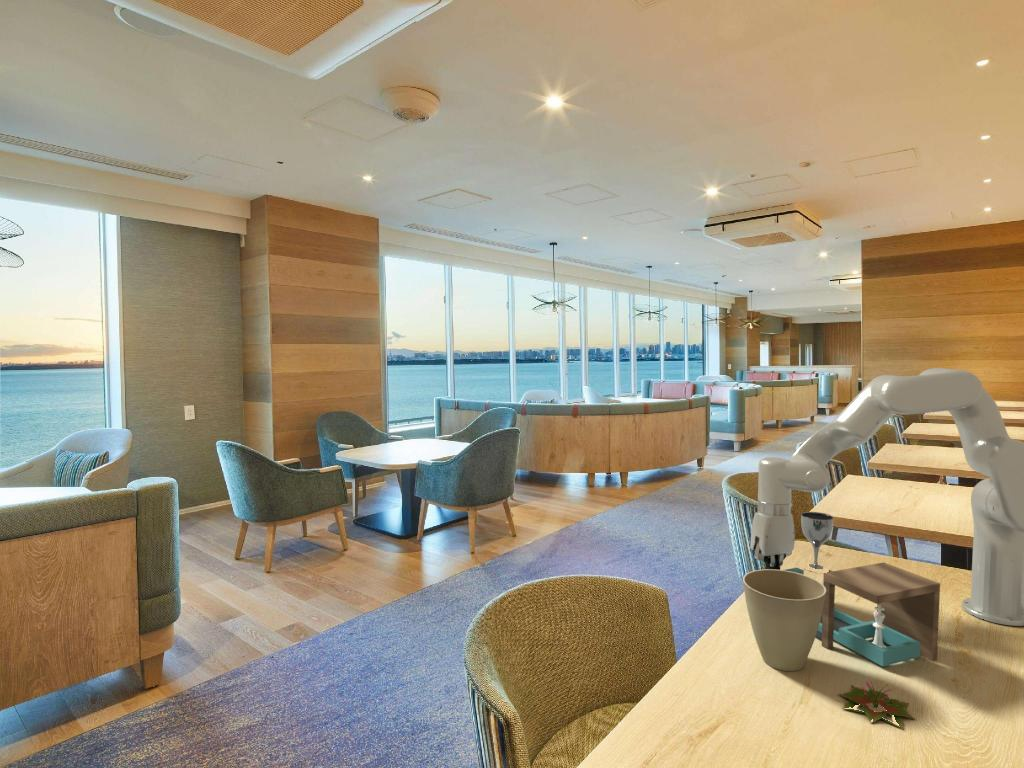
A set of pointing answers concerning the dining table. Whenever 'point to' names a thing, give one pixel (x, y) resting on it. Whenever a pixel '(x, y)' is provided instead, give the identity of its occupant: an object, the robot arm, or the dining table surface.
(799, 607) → the plant pot
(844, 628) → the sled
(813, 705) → the dining table surface
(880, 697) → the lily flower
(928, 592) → the tunnel
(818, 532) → the wine glass
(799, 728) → the dining table surface
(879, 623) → the chess piece
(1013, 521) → the robot arm
